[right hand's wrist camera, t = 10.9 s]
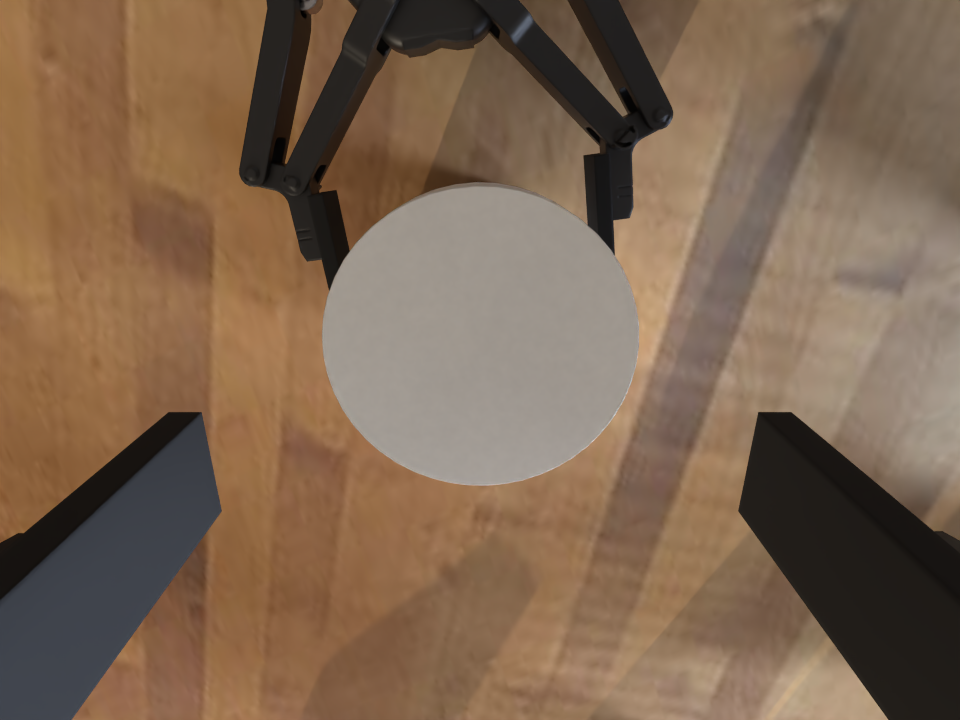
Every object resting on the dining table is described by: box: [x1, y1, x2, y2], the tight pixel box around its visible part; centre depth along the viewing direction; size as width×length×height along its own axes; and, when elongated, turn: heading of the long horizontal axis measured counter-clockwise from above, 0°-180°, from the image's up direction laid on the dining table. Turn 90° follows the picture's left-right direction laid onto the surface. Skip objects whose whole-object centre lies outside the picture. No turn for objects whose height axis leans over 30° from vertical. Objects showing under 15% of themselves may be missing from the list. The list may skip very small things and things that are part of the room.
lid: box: [322, 182, 639, 485], centre depth 21 cm, size 12×12×2 cm
